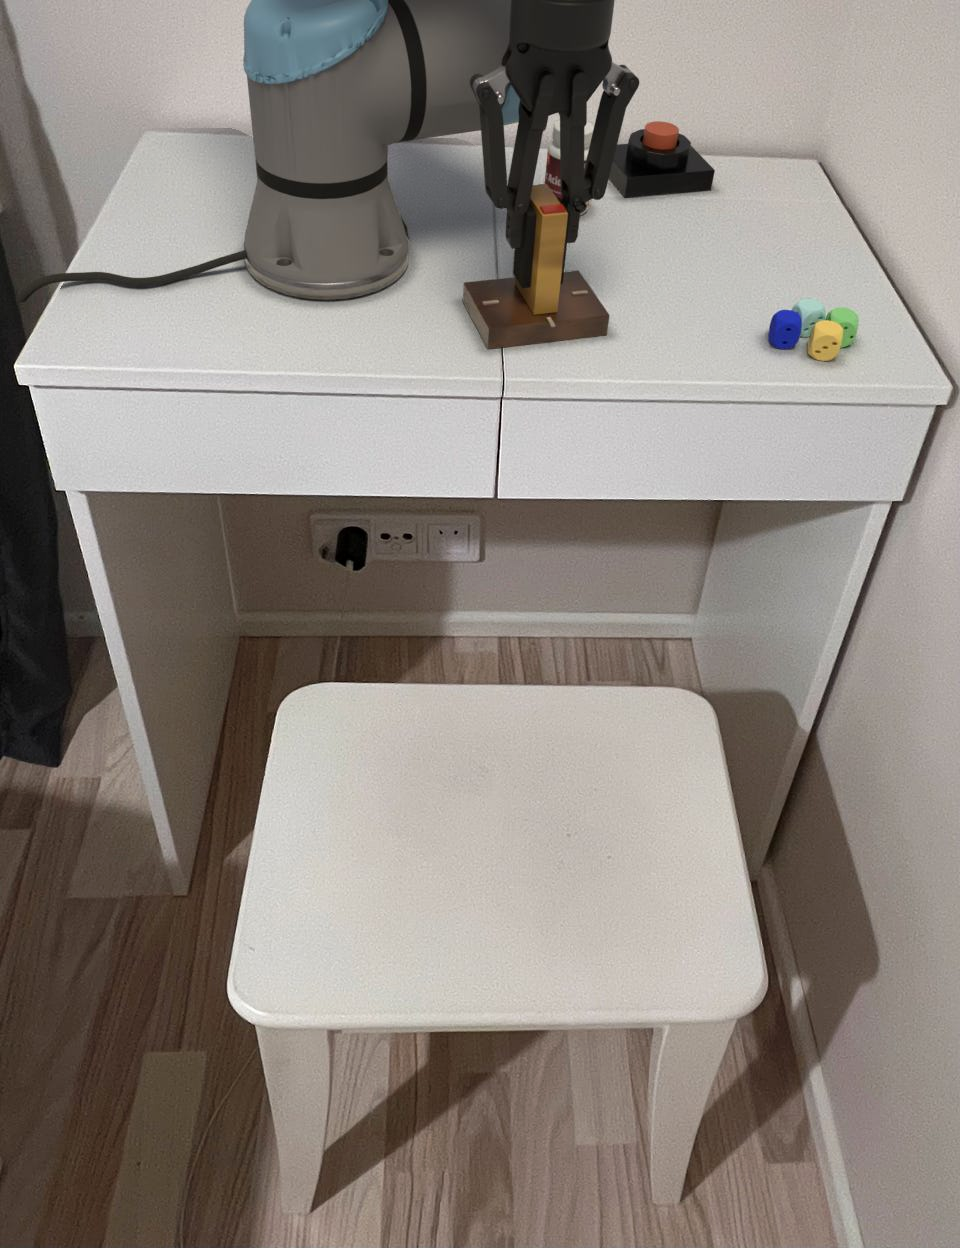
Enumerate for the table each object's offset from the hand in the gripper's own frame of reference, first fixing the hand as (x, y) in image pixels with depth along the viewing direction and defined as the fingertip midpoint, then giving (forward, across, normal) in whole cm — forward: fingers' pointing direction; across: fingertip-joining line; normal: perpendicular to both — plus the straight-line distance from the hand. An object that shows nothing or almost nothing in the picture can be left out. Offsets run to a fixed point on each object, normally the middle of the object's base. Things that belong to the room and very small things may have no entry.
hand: (537, 277), depth 97 cm
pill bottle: (+4, +10, +20) cm, 23 cm away
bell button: (0, +22, +25) cm, 33 cm away
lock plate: (+4, 0, 0) cm, 4 cm away
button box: (+4, +22, +25) cm, 34 cm away
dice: (+3, +23, -6) cm, 24 cm away
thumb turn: (+2, 0, 0) cm, 2 cm away
